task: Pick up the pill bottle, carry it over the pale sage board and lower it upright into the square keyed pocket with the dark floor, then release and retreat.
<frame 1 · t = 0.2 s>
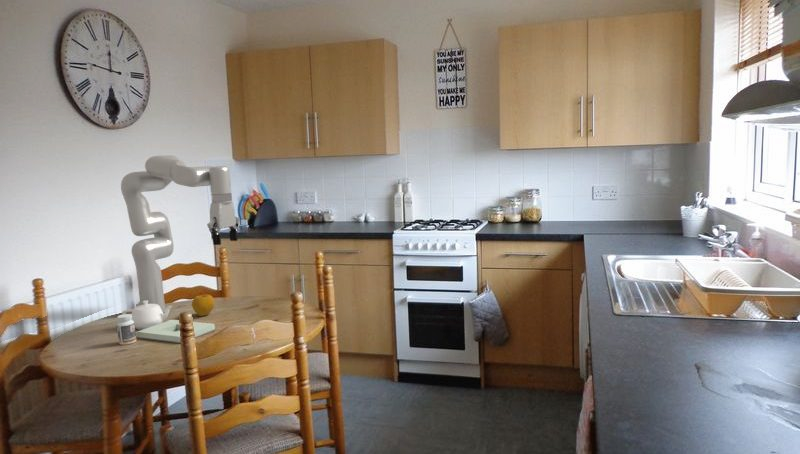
hand: (225, 242, 223), 31 cm above the table, fingers open, 9 cm apart
pocket board: (176, 334, 212), on the table
pill bottle: (127, 343, 204), on the table
apple: (204, 316, 236), on the table
teapot: (149, 326, 225), on the table
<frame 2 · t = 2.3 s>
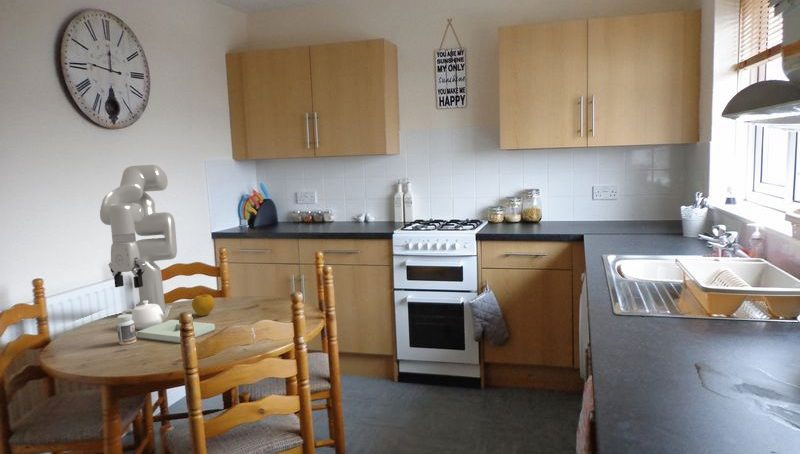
hand: (129, 286, 205), 20 cm above the table, fingers open, 9 cm apart
nothing on the table moved.
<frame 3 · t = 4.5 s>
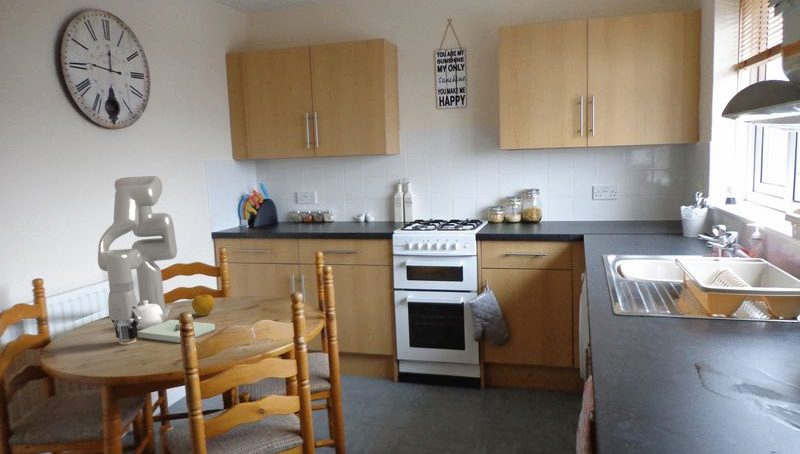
hand: (127, 337, 204), 2 cm above the table, fingers closed on pill bottle, 5 cm apart
pill bottle: (127, 343, 204), on the table, touching gripper
everything else where it was.
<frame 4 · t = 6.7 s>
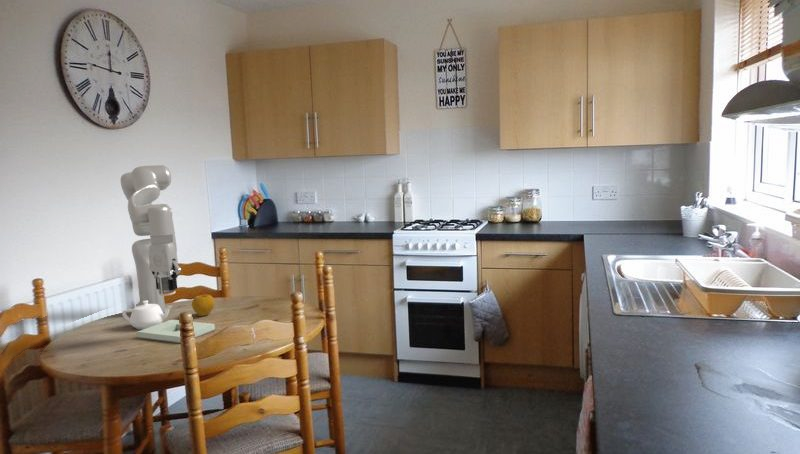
hand: (167, 288, 209), 17 cm above the table, fingers closed on pill bottle, 5 cm apart
pill bottle: (167, 294, 209), point 15 cm above the table, touching gripper
everything else where it was.
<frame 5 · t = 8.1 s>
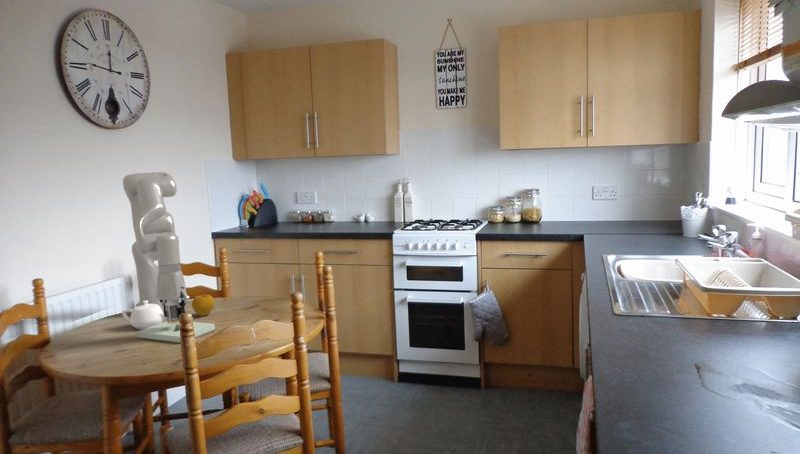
hand: (174, 316, 211), 7 cm above the table, fingers closed on pill bottle, 5 cm apart
pill bottle: (175, 322, 211), point 4 cm above the table, touching gripper
everything else where it was.
when the fingers open (4 cm above the table, at t = 9.1 s): pill bottle drops 1 cm, resting on pocket board.
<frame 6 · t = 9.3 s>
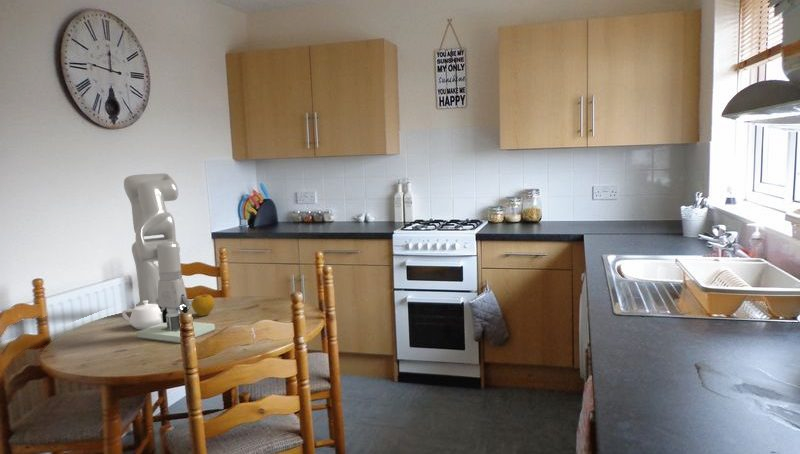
hand: (175, 322, 211), 4 cm above the table, fingers open, 8 cm apart
pill bottle: (176, 333, 212), resting on pocket board
everything else where it was.
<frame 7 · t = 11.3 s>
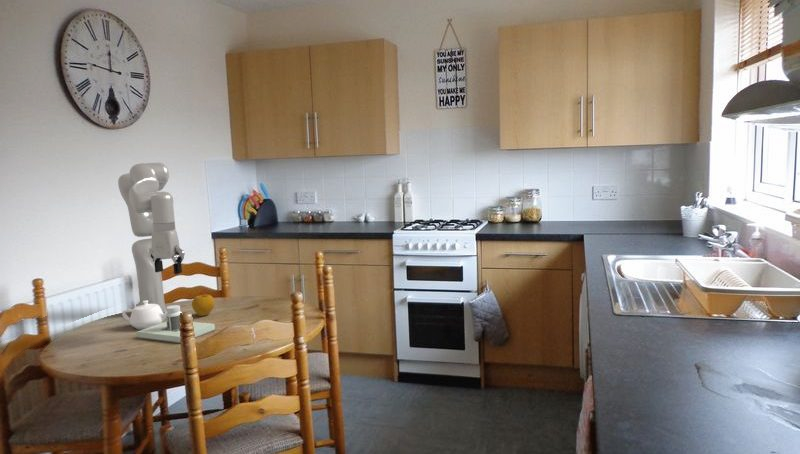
hand: (168, 272, 214), 22 cm above the table, fingers open, 9 cm apart
nothing on the table moved.
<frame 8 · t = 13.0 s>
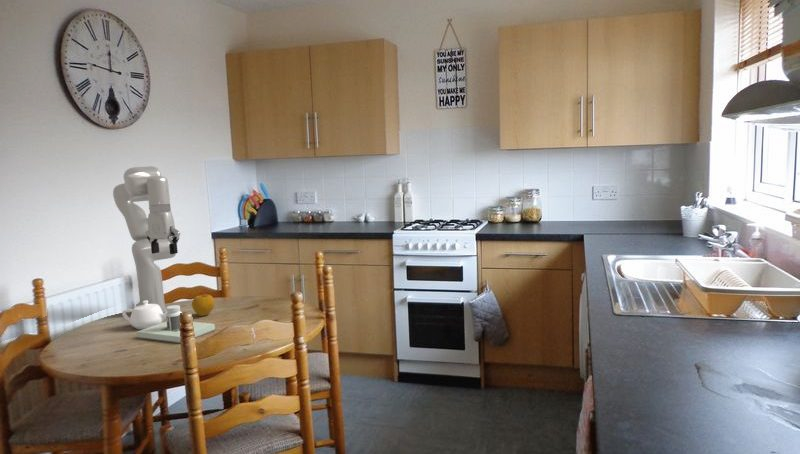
hand: (164, 253, 222), 28 cm above the table, fingers open, 9 cm apart
nothing on the table moved.
at the end: pill bottle 0.3 cm off-centre on the pocket board, point 0.2 cm above the pocket board's base; pill bottle tilted 0°; the gripper is holding nothing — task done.
